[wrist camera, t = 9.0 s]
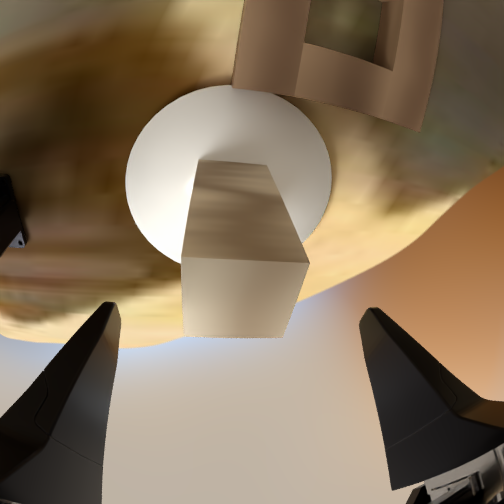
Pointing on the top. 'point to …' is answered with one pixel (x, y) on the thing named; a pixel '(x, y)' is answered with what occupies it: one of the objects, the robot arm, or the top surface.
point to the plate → (224, 158)
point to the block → (239, 254)
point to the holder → (342, 59)
